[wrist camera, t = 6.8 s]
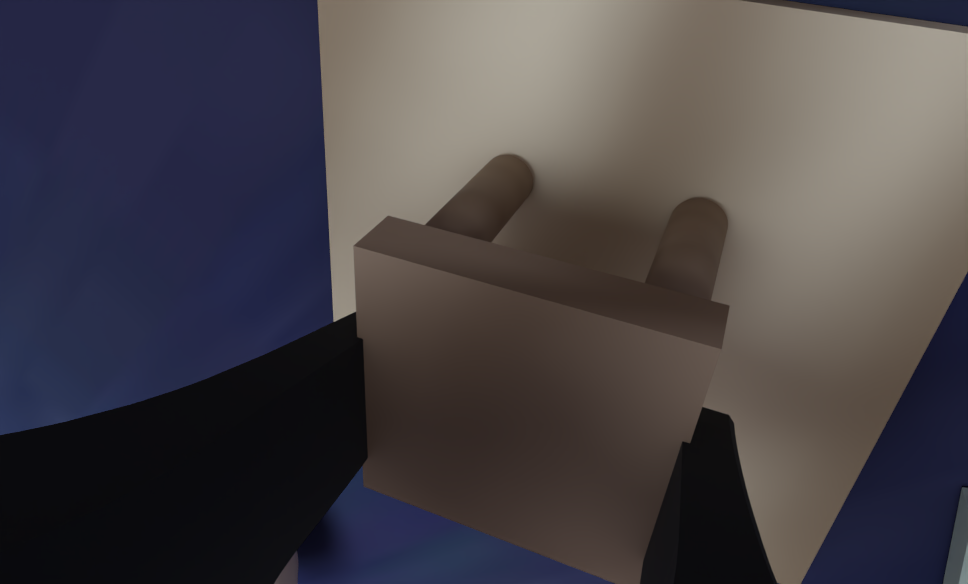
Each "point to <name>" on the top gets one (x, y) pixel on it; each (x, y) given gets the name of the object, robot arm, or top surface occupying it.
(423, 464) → the stool
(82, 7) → the top surface
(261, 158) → the top surface
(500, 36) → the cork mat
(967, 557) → the upturned stool
